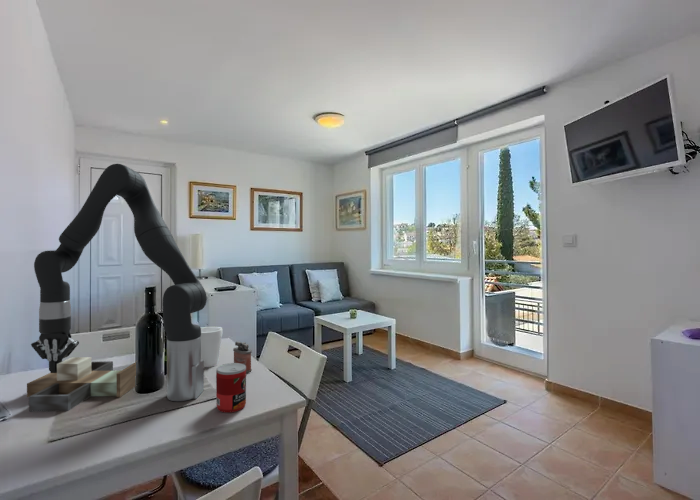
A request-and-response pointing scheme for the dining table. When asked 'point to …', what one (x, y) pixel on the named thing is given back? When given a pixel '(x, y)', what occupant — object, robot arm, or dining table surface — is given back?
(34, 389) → the box
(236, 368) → the canned food
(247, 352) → the lighter
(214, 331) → the foam cup
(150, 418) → the dining table surface
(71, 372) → the block
